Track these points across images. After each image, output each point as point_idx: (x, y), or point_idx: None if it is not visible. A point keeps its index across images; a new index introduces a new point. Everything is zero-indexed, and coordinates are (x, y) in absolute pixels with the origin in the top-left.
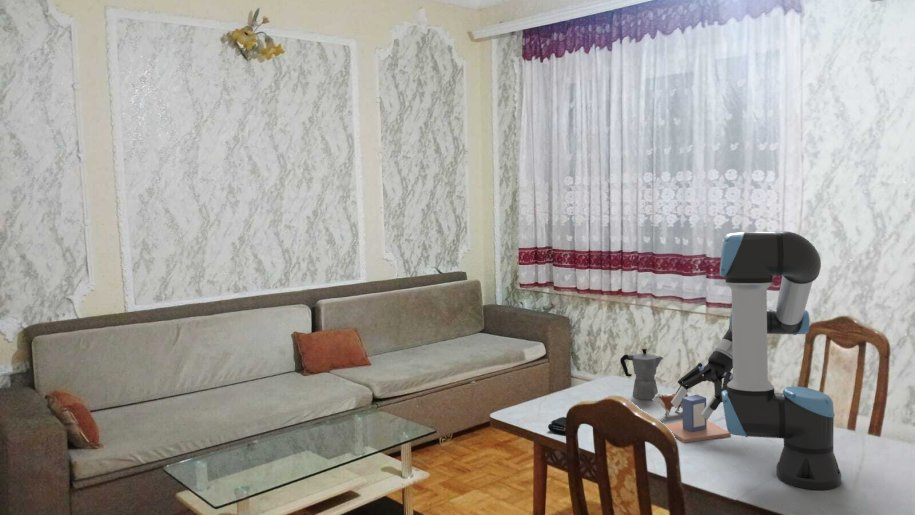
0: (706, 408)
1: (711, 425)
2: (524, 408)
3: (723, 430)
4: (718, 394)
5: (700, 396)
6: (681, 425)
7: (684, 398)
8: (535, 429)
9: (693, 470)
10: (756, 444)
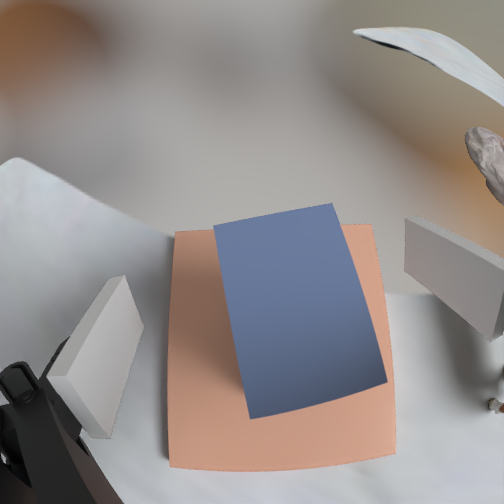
0: (93, 302)
1: (295, 445)
2: (484, 67)
3: (208, 458)
4: (14, 415)
5: (316, 386)
6: None
7: (303, 208)
8: (378, 32)
9: (32, 178)
10: None
